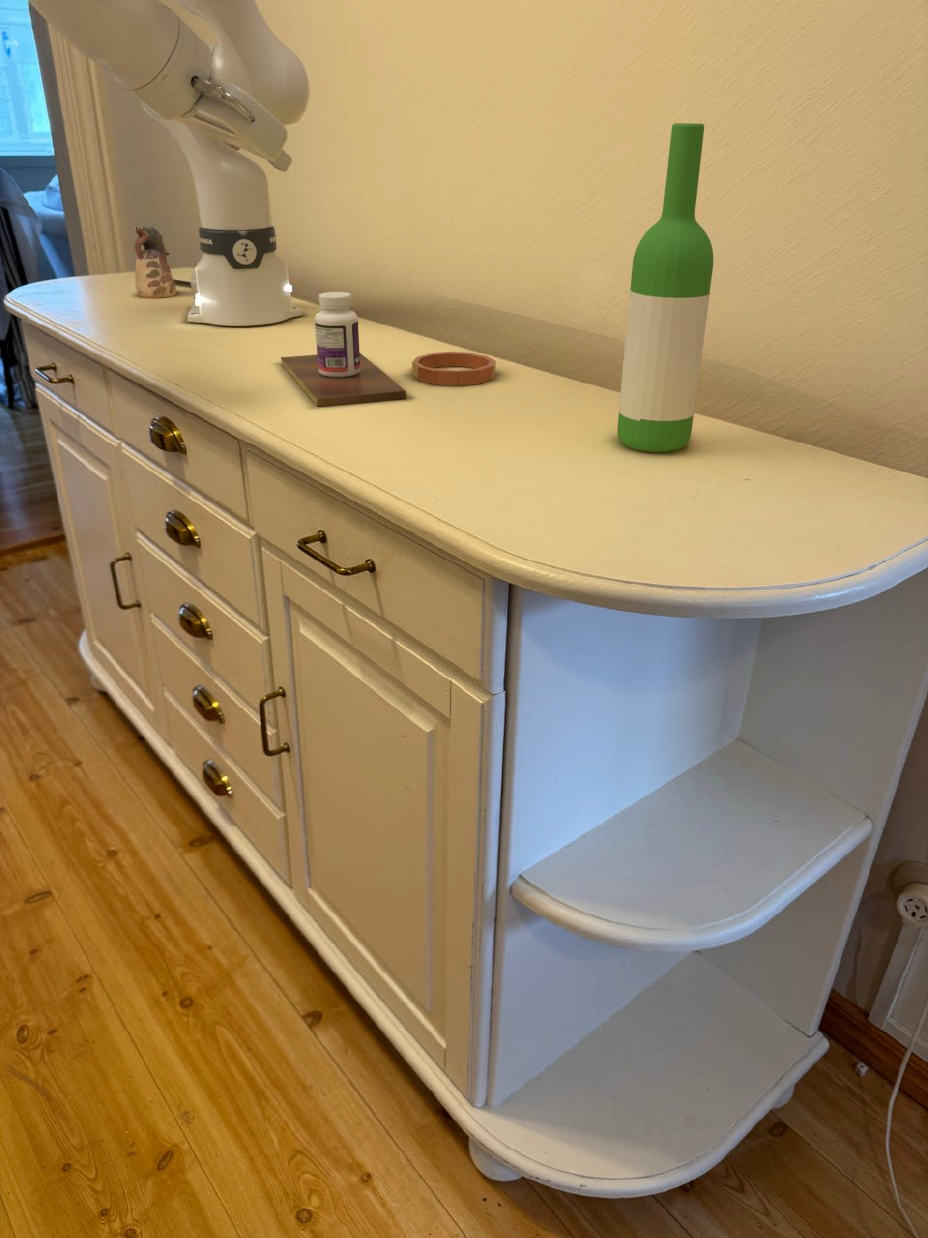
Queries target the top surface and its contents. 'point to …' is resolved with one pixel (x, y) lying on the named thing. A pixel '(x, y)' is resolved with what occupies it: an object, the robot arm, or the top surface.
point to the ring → (428, 374)
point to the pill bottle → (337, 336)
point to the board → (342, 382)
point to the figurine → (152, 265)
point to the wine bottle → (667, 310)
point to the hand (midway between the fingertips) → (261, 154)
